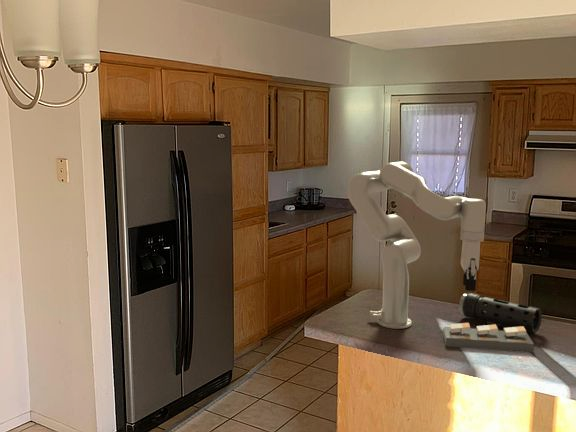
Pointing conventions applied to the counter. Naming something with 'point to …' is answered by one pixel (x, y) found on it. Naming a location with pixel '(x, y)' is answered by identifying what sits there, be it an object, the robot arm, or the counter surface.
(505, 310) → the muzzle brake
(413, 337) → the counter surface
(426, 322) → the counter surface
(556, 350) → the counter surface
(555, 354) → the counter surface
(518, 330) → the switch right
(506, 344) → the switch unit
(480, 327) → the switch middle
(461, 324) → the switch left
